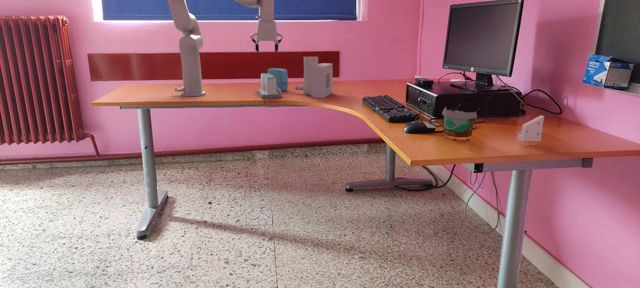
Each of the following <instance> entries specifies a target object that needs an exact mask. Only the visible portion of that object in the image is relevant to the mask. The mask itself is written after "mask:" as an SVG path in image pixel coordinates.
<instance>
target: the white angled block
mask: <svg viewBox="0 0 640 288" xmlns="http://www.w3.org/2000/svg"><path fill="white" fill-rule="evenodd" d="M544 119H545V116H544V115H542V114H541V115H539V116H536V117H535V118H533V119H531V120H529V121H527V122H526V123H524V124H522V127H521V133H518V134H517V135H518V136H517V140H518V139H519V140H521V141H540V142H541V139H542V134H543V133H542V132H543V127H544V126H543V125H544Z"/></svg>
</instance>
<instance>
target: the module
mask: <svg viewBox="0 0 640 288" xmlns="http://www.w3.org/2000/svg"><path fill="white" fill-rule="evenodd" d="M266 77H274V76H273V75H263V76H262V80H263V91H264V92H265V93H266V87H265V78H266Z"/></svg>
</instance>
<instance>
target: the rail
mask: <svg viewBox="0 0 640 288" xmlns="http://www.w3.org/2000/svg"><path fill="white" fill-rule="evenodd" d="M263 75H271V74H270V73H268V72H265V73H264V72H262V73H261V74H260V83H261V85H260V86H261V87H260V88H256V93H257V94H258V95H259V97H260V98H261V99H262V100H264V99H266V100H267V99H282V91H281V90H280V89H279V88H278V87H277V86H276V77H266V78H265V87H266V93H265V92H264V91H263V80H262V76H263Z"/></svg>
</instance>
